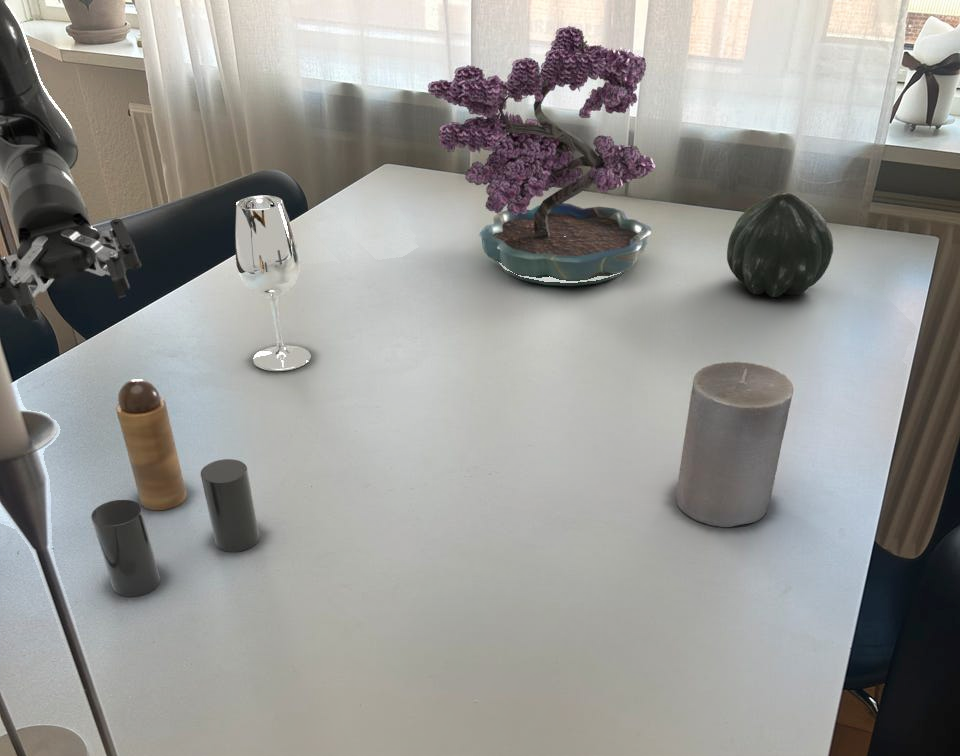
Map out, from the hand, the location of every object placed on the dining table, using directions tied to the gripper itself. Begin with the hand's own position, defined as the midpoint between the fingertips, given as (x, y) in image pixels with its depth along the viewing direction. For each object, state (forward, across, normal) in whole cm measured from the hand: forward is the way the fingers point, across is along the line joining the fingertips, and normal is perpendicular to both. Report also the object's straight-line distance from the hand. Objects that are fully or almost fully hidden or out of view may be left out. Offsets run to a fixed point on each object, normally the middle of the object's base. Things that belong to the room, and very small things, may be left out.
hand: (76, 301), depth 98 cm
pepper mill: (+10, +1, +18) cm, 21 cm away
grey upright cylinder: (+21, +6, +17) cm, 28 cm away
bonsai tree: (-34, +67, +37) cm, 83 cm away
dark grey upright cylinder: (+24, -4, +14) cm, 29 cm away
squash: (-11, +94, +36) cm, 101 cm away
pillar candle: (+35, +55, +20) cm, 68 cm away
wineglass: (-17, +20, +27) cm, 38 cm away
